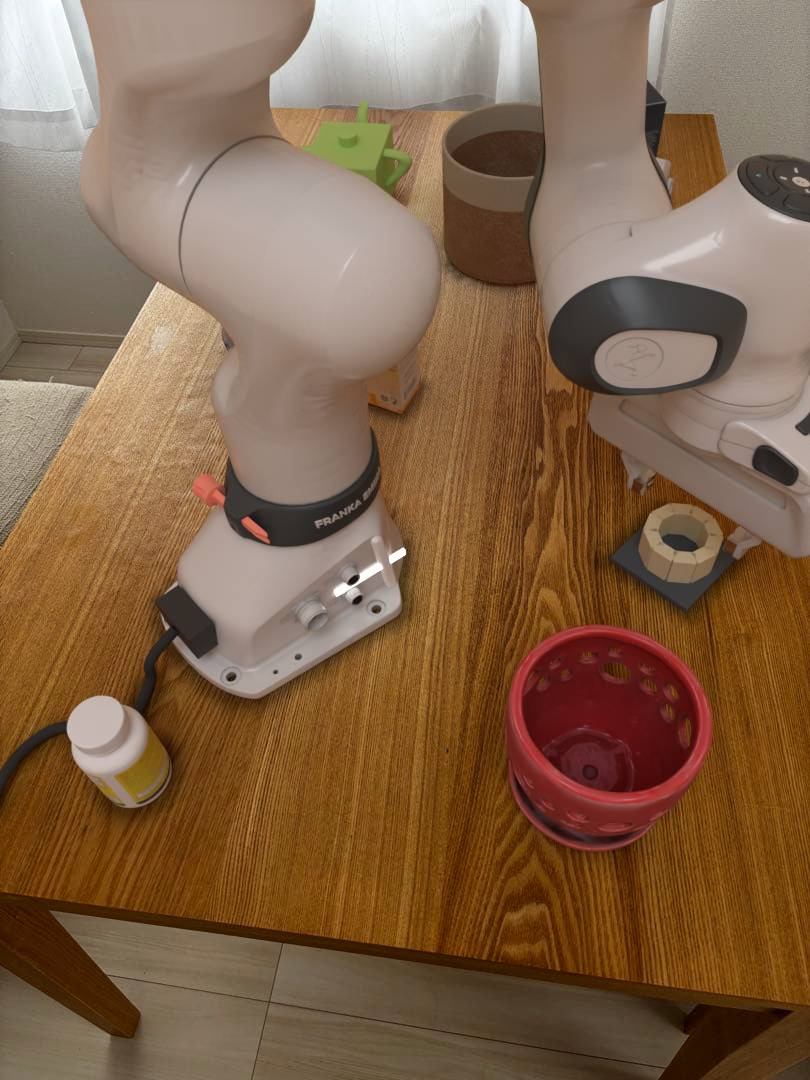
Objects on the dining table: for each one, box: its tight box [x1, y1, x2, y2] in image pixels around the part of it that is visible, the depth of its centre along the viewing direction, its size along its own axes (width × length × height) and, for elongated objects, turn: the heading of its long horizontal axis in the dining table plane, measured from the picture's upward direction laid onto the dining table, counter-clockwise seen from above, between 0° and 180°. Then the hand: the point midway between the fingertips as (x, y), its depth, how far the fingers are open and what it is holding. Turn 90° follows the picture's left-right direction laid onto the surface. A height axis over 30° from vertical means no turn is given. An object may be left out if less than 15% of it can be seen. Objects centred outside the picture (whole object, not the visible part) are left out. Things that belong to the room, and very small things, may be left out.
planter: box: [441, 101, 544, 285], centre depth 100 cm, size 16×16×14 cm
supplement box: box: [367, 344, 420, 415], centre depth 86 cm, size 8×5×13 cm, turn 64°
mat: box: [609, 523, 737, 614], centre depth 76 cm, size 8×8×1 cm
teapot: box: [297, 100, 413, 197], centre depth 107 cm, size 15×13×11 cm
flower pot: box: [504, 623, 714, 853], centre depth 61 cm, size 13×13×12 cm
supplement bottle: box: [66, 694, 173, 809], centre depth 64 cm, size 5×5×10 cm
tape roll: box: [638, 502, 724, 584], centre depth 75 cm, size 6×7×3 cm
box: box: [645, 79, 668, 158], centre depth 109 cm, size 8×6×11 cm
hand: (685, 518), depth 71 cm, fingers open, 8 cm apart
